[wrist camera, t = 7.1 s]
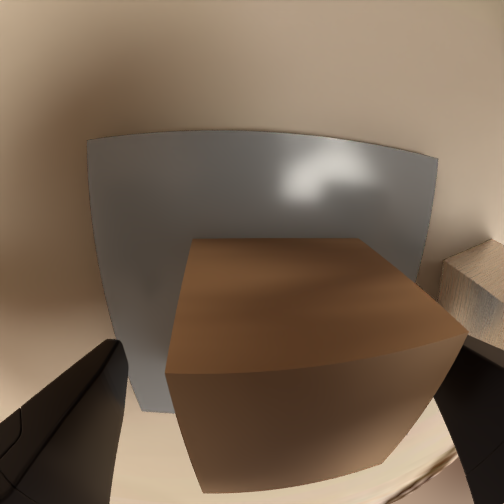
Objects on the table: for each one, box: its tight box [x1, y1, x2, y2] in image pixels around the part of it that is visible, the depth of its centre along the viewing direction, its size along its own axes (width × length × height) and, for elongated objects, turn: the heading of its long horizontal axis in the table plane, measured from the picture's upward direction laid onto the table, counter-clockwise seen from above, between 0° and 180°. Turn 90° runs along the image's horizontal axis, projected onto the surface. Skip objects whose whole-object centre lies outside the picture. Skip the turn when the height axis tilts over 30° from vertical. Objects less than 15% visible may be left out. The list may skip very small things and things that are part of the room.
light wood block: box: [438, 239, 504, 350], centre depth 8 cm, size 4×4×6 cm
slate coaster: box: [87, 130, 438, 413], centre depth 9 cm, size 11×11×1 cm
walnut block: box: [165, 238, 469, 493], centre depth 7 cm, size 5×5×5 cm
